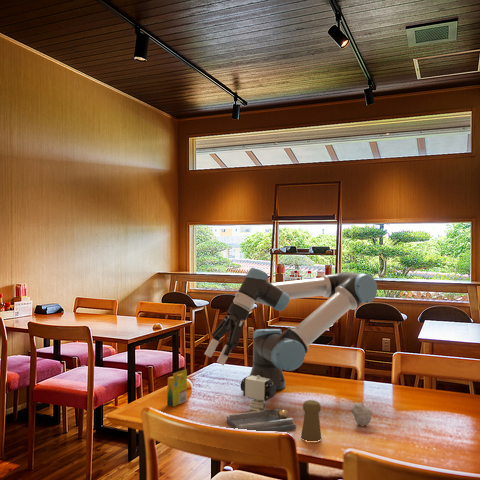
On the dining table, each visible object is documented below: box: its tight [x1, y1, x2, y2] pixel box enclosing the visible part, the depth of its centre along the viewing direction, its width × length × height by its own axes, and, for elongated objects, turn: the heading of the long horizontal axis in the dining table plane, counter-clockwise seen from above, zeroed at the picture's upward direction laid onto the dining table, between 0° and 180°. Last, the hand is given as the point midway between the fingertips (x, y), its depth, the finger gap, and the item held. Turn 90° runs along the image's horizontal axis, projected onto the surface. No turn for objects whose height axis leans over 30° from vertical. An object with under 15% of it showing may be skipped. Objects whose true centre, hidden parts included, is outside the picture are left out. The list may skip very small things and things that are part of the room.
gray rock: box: [350, 402, 374, 426], centre depth 144 cm, size 6×7×7 cm
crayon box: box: [166, 369, 188, 408], centre depth 161 cm, size 7×3×12 cm, turn 145°
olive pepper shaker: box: [300, 399, 322, 441], centre depth 133 cm, size 6×6×11 cm
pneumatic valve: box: [240, 374, 277, 412], centre depth 156 cm, size 6×12×12 cm, turn 58°
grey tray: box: [226, 408, 297, 432], centre depth 142 cm, size 18×13×4 cm
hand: (213, 359), depth 161 cm, fingers open, 13 cm apart
